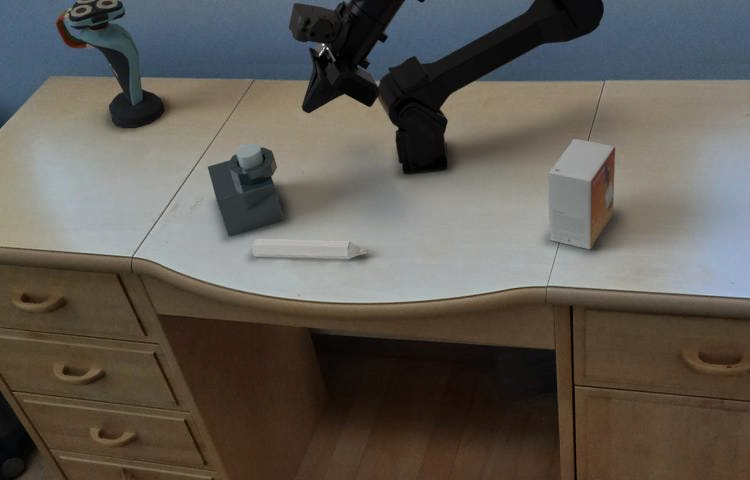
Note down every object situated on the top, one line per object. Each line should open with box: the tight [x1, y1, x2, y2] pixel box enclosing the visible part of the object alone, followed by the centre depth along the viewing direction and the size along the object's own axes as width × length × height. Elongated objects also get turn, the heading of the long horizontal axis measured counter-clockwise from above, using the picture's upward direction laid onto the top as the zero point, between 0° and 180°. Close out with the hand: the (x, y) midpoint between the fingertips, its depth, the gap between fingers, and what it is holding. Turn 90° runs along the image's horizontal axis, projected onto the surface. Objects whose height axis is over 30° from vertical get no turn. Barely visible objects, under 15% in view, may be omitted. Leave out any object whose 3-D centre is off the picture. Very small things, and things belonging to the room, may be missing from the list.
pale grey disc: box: [235, 142, 264, 169], centre depth 126 cm, size 3×3×2 cm
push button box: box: [207, 146, 285, 237], centre depth 129 cm, size 9×9×8 cm
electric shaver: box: [55, 0, 166, 129], centre depth 150 cm, size 9×12×20 cm
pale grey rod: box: [251, 238, 371, 260], centre depth 122 cm, size 3×2×16 cm
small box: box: [547, 138, 616, 250], centre depth 115 cm, size 8×6×10 cm
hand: (304, 110), depth 124 cm, fingers closed
